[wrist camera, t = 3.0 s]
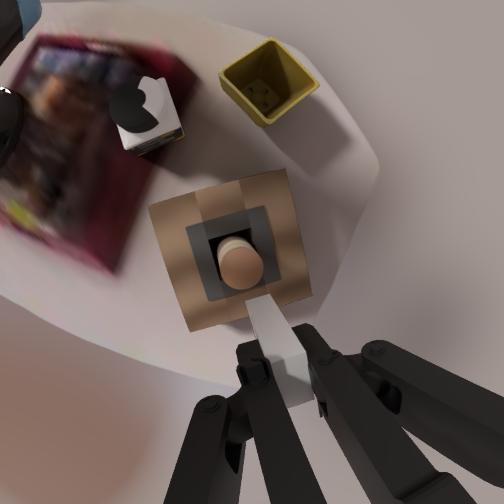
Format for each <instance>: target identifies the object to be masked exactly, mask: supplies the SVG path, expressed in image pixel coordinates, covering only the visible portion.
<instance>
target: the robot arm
mask: <svg viewBox="0 0 504 504" xmlns="http://www.w3.org/2000/svg"><path fill="white" fill-rule="evenodd" d="M41 13H42V6H41V3H40V1H39V0H0V66H1V65H2V63H3V62H4V61H5V60H6V58H7V57H8V56H9V54H10V53H11V52H12V51H13V50H14V48H15V47H16V46H17V45H18V44H19V42H22V41H23V40H24V38H25V36H26V34H27V33H28V32H29V31H30V30H31V29H32V27H33V26H34V25H35V24H36V23H37V22H38V20H39V19H40V17H41ZM22 122H23V105H22V101H21V99H20V97H19V95H18V94H17V93H16V92H15V91H13V90H11V89H9V88H6V87H0V167H1V166H2V165H3V164H4V163H5V162H6V160H7V159H8V158H9V156H10V155H11V153H12V151H13V149H14V147H15V145H16V143H17V141H18V138H19V135H20V131H21V127H22ZM245 303H246V306H247V310H248V313H249V317H250V320H251V324H252V327H253V331H254V334H255V338H256V340H253V341H249V342H246V343H242V344H239V345H238V347H237V349H236V354H237V359H238V364H239V365H238V366H237V369H236V372H237V374H238V377H239V380H240V383H241V385H242V386H241V388H240V389H239V391H237V392H236V393H235V394H234V395H232V396H230V397H229V398H225V397H223V396H220V395H211V396H207V397H205V398H203V399H201V400H200V401H199V402H198V403H197V404H196V406H195V408H194V412H193V415H192V418H191V420H190V423H189V426H188V429H187V433H186V436H185V439H184V442H183V445H182V448H181V451H180V454H179V457H178V460H177V463H176V466H175V469H174V472H173V475H172V478H171V481H170V484H169V488H168V491H167V494H166V497H165V500H164V503H163V504H238V503H239V495H240V487H241V480H242V472H243V464H244V456H245V447H246V441H247V440H249V439H251V438H252V437H254V441H255V444H256V449H257V453H258V457H259V461H260V465H261V469H262V473H263V476H264V480H265V484H266V488H267V491H268V495H269V498H270V503H271V504H327V502H326V500H325V498H324V495H323V493H322V491H321V489H320V486H319V484H318V482H317V479H316V477H315V475H314V472H313V470H312V468H311V465H310V463H309V461H308V458H307V456H306V454H305V451H304V449H303V446H302V444H301V441H300V439H299V437H298V434H297V432H296V429H295V427H294V425H293V422H292V420H291V417H290V415H289V412H288V410H287V408H290V407H293V406H296V405H299V404H302V403H305V402H308V401H310V400H314V399H315V398H314V394H315V395H316V397H317V401H318V407H319V414H320V417H323V416H324V418H325V420H326V422H327V423H328V425H329V427H330V429H331V431H332V432H333V434H334V436H335V438H336V440H337V442H338V443H339V446H340V447H341V449H342V451H343V453H344V455H345V457H346V458H347V460H348V462H349V464H350V466H351V468H352V469H353V471H354V473H355V475H356V477H357V479H358V480H359V482H360V484H361V486H362V488H363V489H364V491H365V493H366V495H367V497H368V498H369V500H370V502H371V504H477V503H476V502H475V501H474V499H473V498H472V497H471V496H470V495H469V494H468V492H467V491H466V490H465V489H464V488H463V486H462V485H461V484H460V483H459V481H458V480H457V479H456V478H455V477H454V476H453V475H452V474H450V473H448V472H439V471H437V470H436V469H435V468H434V467H433V465H432V464H431V463H430V462H429V461H428V459H427V458H426V457H425V456H424V454H423V453H422V452H421V451H420V450H419V448H418V447H417V446H416V445H415V443H414V442H413V441H412V440H411V438H410V437H409V436H408V435H407V433H406V432H405V431H404V430H403V428H404V429H406V430H407V431H408V432H410V433H411V434H413V435H414V436H416V437H417V438H419V439H420V440H421V441H423V442H425V443H426V444H427V445H429V446H430V447H432V448H433V449H435V450H436V451H438V452H439V453H441V454H442V455H444V456H446V457H447V458H449V459H450V460H452V461H453V462H455V463H457V464H458V465H460V466H461V467H463V468H464V469H466V470H468V471H469V472H471V473H473V474H474V475H476V476H477V477H479V478H481V479H482V480H484V481H486V482H488V483H490V484H492V485H494V486H497V487H500V488H504V397H502V396H500V395H498V394H496V393H494V392H491V391H489V390H487V389H485V388H483V387H480V386H478V385H476V384H474V383H472V382H470V381H468V380H466V379H464V378H462V377H459V376H457V375H455V374H453V373H451V372H449V371H447V370H445V369H443V368H441V367H439V366H437V365H435V364H432V363H430V362H428V361H426V360H424V359H422V358H420V357H418V356H416V355H414V354H412V353H410V352H408V351H406V350H404V349H402V348H400V347H398V346H396V345H394V344H392V343H390V342H388V341H384V340H375V341H371V342H369V343H366V344H365V345H364V346H363V348H362V350H361V353H360V354H354V355H342V354H341V353H340V352H339V351H337V350H333V349H331V348H330V347H329V346H328V344H327V343H326V342H325V340H324V339H323V338H322V337H321V336H320V334H319V333H318V332H317V330H316V329H315V328H314V326H312V325H310V324H307V323H304V324H301V325H298V326H295V327H292V328H291V327H290V326H289V324H288V322H287V321H286V319H285V318H284V316H283V314H282V313H281V311H280V310H279V308H278V306H277V305H276V303H275V302H274V300H273V298H272V297H271V295H270V294H267V295H263V296H260V297H257V298H253V299H250V300H246V301H245ZM322 414H323V415H322ZM402 427H403V428H402Z"/></svg>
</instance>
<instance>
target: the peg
mask: <svg viewBox="0 0 504 504" xmlns="http://www.w3.org/2000/svg"><path fill="white" fill-rule="evenodd" d="M217 257H218V262H219V266H220V271H221V276H222V278H223V280H224V281H225V283H226V284H227V285H229V286H230V287H232V288H234V289H239V290H243V289H248V288H251V287H253V286H254V285H255V284H257V283H258V281H259V280H260V279H261V277H262V274H263V262H262V259H261V258H260V256H259V255H258V254H257V252H256V251H255V250H254V249H253V248H252V246H251V245H250V244H249V243H248V242H247V240H246V239H245V238H244V237H242V236H240V235H236V234H231V235H228V236H225V237H224V238H223V239H221V241H220V242H219V244H218V246H217Z"/></svg>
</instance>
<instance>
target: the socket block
mask: <svg viewBox="0 0 504 504" xmlns="http://www.w3.org/2000/svg"><path fill="white" fill-rule="evenodd" d="M147 207H148V210H149V214H150V217H151V220H152V224H153V227H154V231H155V234H156V237H157V240H158V243H159V247H160V250H161V253H162V256H163V259H164V262H165V265H166V268H167V271H168V274H169V277H170V280H171V283H172V286H173V288H174V291H175V294H176V297H177V299H178V302H179V305H180V308H181V310H182V313H183V316H184V318H185V321H186V323H187V326H188V329H189V331H190V332H193V331H197V330H201V329H205V328H208V327H212V326H216V325H219V324H223V323H226V322H230V321H233V320H237V319H240V318H244V317H247V316H249V313H248V310H247V306H246V303H245V301H246V300H250V299H253V298H257V297H260V296H263V295H267V294H270V295H271V297H272V298H273V300H274V302H275V303H276V305H277V306H278V307H279V306H283V305H286V304H289V303H292V302H295V301H298V300H301V299H304V298H307V297H310V296H313V295H312V290H311V285H310V279H309V274H308V269H307V264H306V259H305V254H304V249H303V245H302V240H301V235H300V230H299V226H298V221H297V217H296V212H295V208H294V204H293V199H292V195H291V191H290V187H289V182H288V178H287V174H286V170H285V169H280V170H276V171H271V172H267V173H263V174H259V175H255V176H251V177H247V178H243V179H239V180H235V181H231V182H227V183H223V184H220V185H216V186H212V187H209V188H205V189H202V190H198V191H195V192H191V193H188V194H184V195H181V196H178V197H174V198H171V199H168V200H164V201H161V202H158V203H155V204H152V205H149V206H147ZM240 230H244V231H245V235H246V239H247V242H248V243H249V244H250V245H251V246H252V248H253V249H254V250H255V251H256V252H257V254H258V255H259V256H260V258H261V259H262V262H263V274H262V277H261V279H260V280H259V281H258V283H257V284H255V285H254V286H253V287H251V288H248V289H243V290H239V289H234V288H232V287H230V286H229V285H227V284H226V283H225V281H224V280H223V278H222V276H221V271H220V266H219V262H218V263H217V262H216V259H215V256H214V252H213V249H212V245H211V242H210V239H212V238H215V237H219V236H222V235H226V234H229V233H233V232H237V231H240Z"/></svg>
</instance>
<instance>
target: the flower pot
mask: <svg viewBox="0 0 504 504" xmlns="http://www.w3.org/2000/svg"><path fill="white" fill-rule="evenodd" d="M218 75H219V79H220V83H221V86H222V89H223V90H224V91H225V92H226V93H227V94H228V95H229V96H230V97H231V98H232V99H233V100H234V101H235V102H236V103H237V104H238V105H239V106H240V107H241V108H242V109H243V110H244V112H245V113H246V114H247V115H248V116H249V117H250V118H251V119H252V120H253V121H254V122H255V124H257V125H258V126H259V127H264V126H267V125H270V124H272V123H273V122H275V121H276V120H277V119H278V118H279V117H281V116H282V115H283V114H284V113H285V112H287V111H288V110H289V109H290V108H292V107H293V106H294V105H296V104H297V103H298V102H300V101H301V100H302V99H303V98H305V97H306V96H308V95H309V94H310V93H312V92H313V91H314V90H316V89H317V88H318V87H319V85H320V84H319V83H318V81H317V80H316V79H315V78H314V77H313V76H312V74H310V72H309V71H308V70H307V69H306V68H305V67H304V66H303V65H302V64H301V63H300V62H299V61H298V60H297V59H296V58H295V57H294V56H293V55H292V54H291V53H290V52H289V51H288V50H287V49H286V48H285V47H284V46H283V45H282V44H281V43H280V42H279V41H277V40H276V39H274V38H273V37H270V38H268V39H266V40H265V41H263V42H262V43H260V44H259V45H257V46H256V47H254V48H253V49H251V50H250V51H249V52H247V53H245V54H244V55H242V56H241V57H239V58H238V59H236V60H235V61H233V62H232V63H230V64H229V65H227V66H226V67H224V68H223V69H222V70H220V71H219V73H218ZM250 88H251V89H252V92H250V91H248V89H250ZM264 90H267V91H268V93H265V92H264ZM264 104H267V107H264V106H263V105H264Z"/></svg>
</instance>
